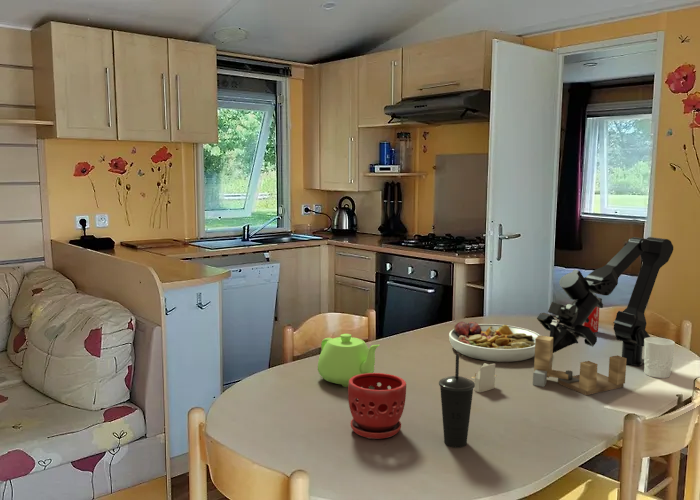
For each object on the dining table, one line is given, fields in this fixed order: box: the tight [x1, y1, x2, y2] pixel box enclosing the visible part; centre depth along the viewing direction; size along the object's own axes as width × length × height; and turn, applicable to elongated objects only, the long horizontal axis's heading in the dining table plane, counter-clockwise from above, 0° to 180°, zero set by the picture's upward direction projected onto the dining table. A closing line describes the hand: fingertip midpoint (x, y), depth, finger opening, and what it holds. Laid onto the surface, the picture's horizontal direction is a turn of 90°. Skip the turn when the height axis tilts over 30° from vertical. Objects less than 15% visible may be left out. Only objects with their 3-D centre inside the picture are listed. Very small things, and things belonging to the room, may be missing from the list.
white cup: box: [643, 336, 676, 379], centre depth 180 cm, size 8×8×10 cm
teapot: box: [317, 333, 380, 388], centre depth 175 cm, size 22×15×13 cm
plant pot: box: [347, 372, 407, 440], centre depth 142 cm, size 13×13×12 cm
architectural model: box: [470, 362, 498, 393], centre depth 170 cm, size 3×7×7 cm, turn 124°
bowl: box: [448, 321, 542, 363], centre depth 204 cm, size 30×30×8 cm
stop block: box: [532, 370, 548, 388], centre depth 173 cm, size 3×3×4 cm
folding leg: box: [533, 334, 573, 380], centre depth 174 cm, size 10×4×10 cm, turn 60°
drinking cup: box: [438, 353, 475, 448], centre depth 136 cm, size 8×8×20 cm
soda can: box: [583, 307, 600, 334], centre depth 225 cm, size 6×6×12 cm
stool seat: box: [557, 354, 627, 396], centre depth 171 cm, size 14×10×8 cm
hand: (548, 351), depth 177 cm, fingers closed
